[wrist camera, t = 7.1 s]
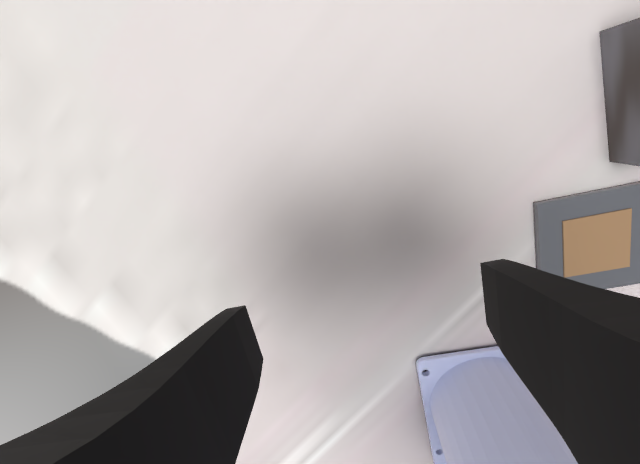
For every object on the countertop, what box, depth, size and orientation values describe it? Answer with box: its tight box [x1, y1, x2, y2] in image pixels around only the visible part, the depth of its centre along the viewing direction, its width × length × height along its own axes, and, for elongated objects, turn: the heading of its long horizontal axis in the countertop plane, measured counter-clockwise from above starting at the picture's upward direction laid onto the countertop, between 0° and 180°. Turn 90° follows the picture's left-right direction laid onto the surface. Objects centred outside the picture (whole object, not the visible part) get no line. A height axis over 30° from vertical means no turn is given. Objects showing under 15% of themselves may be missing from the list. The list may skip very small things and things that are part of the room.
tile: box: [534, 182, 640, 289], centre depth 19 cm, size 6×6×1 cm
